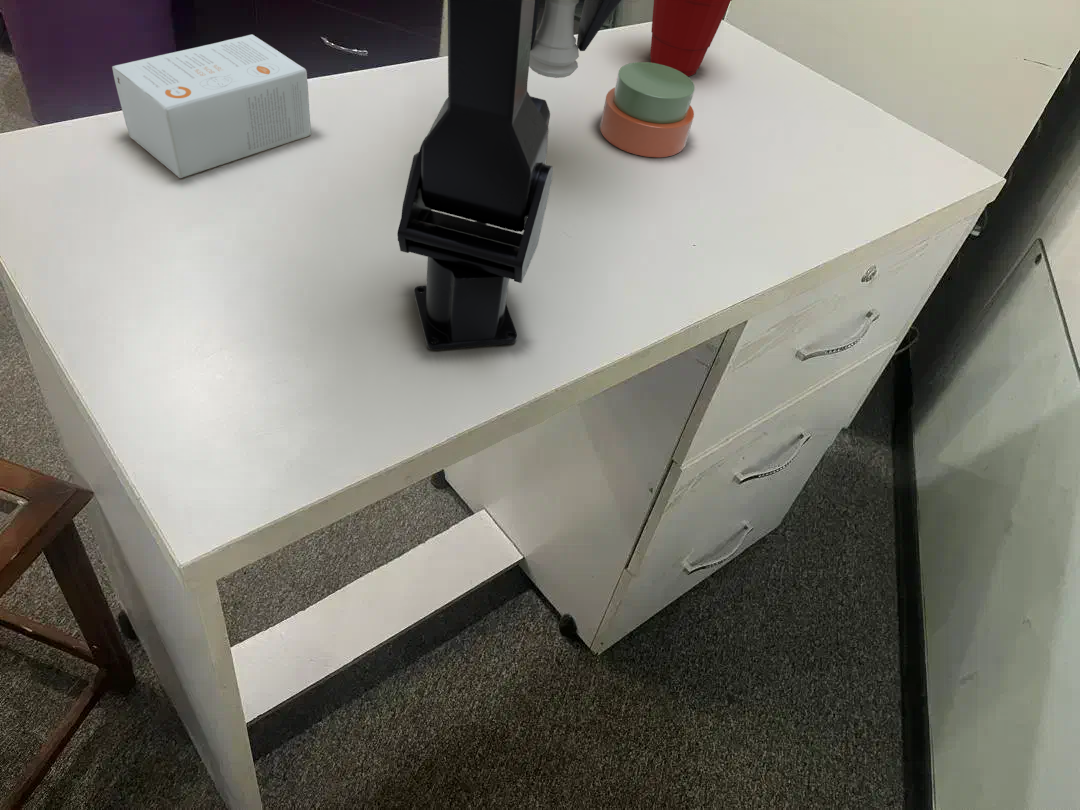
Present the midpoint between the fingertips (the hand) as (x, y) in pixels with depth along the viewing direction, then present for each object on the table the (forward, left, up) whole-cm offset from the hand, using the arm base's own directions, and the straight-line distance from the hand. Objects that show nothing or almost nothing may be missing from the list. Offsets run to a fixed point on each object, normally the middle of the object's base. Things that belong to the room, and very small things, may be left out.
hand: (554, 48), depth 64 cm
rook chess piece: (0, 0, -2) cm, 2 cm away
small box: (+10, +22, -8) cm, 25 cm away
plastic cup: (+22, -23, -11) cm, 34 cm away
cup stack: (+6, -13, -11) cm, 18 cm away
